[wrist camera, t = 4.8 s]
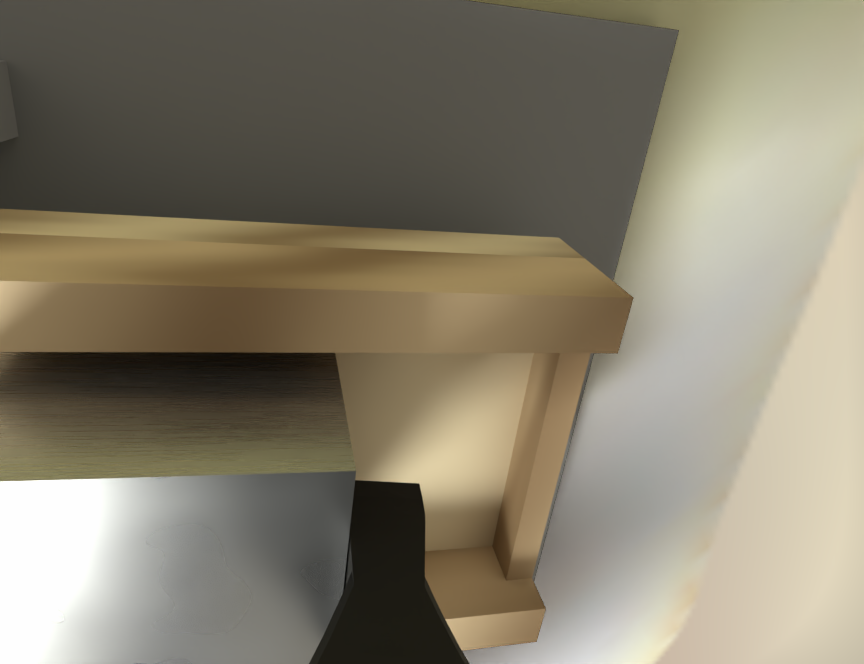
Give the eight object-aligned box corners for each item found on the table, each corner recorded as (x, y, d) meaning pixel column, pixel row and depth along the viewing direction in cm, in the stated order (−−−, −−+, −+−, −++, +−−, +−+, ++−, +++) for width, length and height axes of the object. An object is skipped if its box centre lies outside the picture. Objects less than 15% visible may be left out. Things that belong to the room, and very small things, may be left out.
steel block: (329, 325, 11) (356, 471, 8) (314, 540, 13) (327, 731, 10) (5, 315, 10) (-146, 485, 6) (45, 555, 12) (-51, 782, 8)
